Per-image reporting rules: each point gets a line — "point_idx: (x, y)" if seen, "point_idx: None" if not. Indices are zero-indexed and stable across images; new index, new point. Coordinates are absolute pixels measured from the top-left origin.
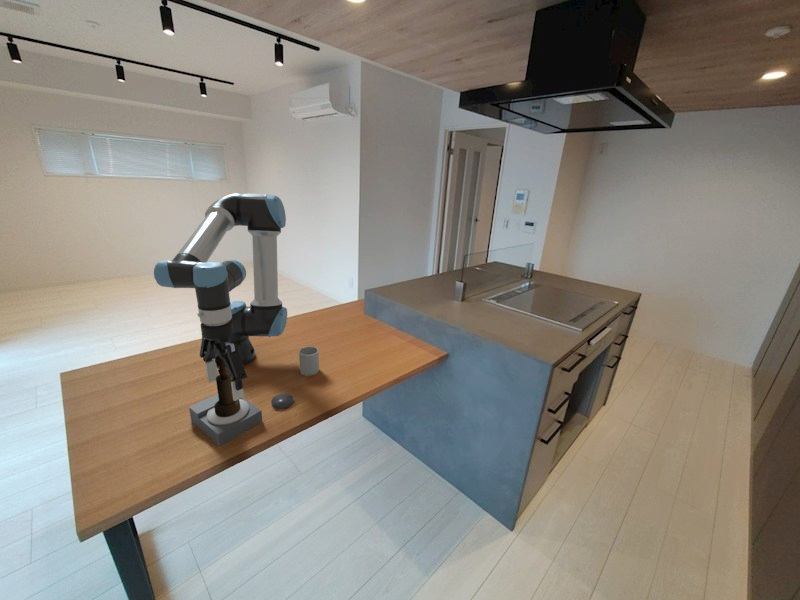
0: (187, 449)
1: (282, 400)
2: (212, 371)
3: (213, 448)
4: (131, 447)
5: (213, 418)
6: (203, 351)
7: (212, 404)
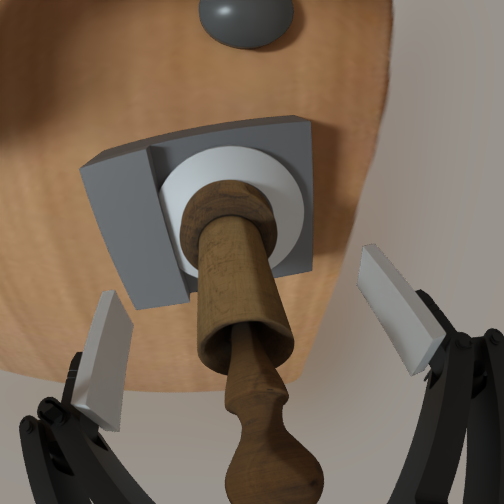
0: None
1: (252, 10)
2: (112, 356)
3: None
4: (172, 356)
5: None
6: (82, 489)
7: (162, 258)
